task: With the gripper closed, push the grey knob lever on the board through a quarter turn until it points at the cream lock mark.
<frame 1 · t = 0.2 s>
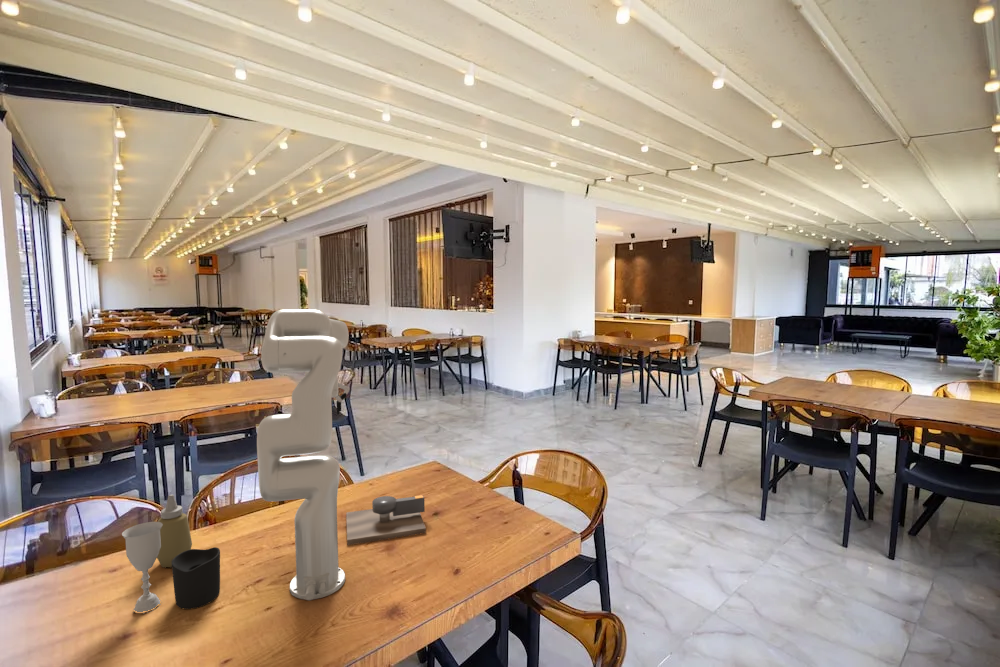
hand: (322, 414, 157), 31 cm above the table, tool pointing down, fingers open, 9 cm apart
grey knob lever: (398, 506, 148), point 5 cm above the table, hinge at 0.0°
chalice: (147, 607, 108), on the table
squeeze bottle: (174, 563, 126), on the table
pen holder: (198, 598, 112), on the table
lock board: (384, 524, 147), on the table
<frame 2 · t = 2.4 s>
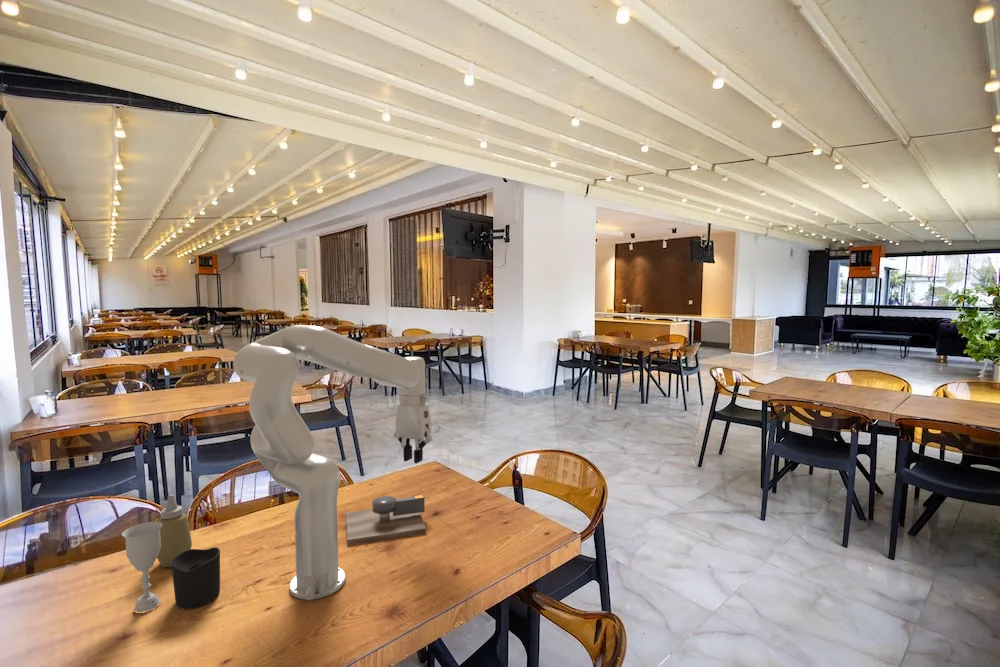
hand: (413, 460, 142), 21 cm above the table, tool pointing down, fingers open, 3 cm apart
nothing on the table moved.
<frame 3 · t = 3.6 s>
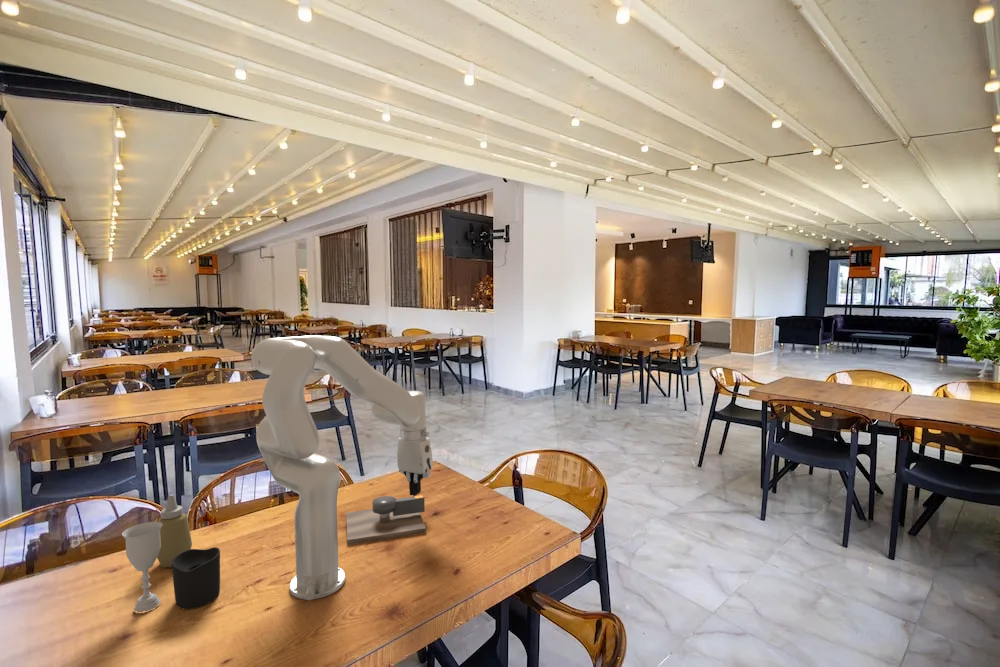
hand: (415, 493, 144), 11 cm above the table, tool pointing down, fingers closed
nothing on the table moved.
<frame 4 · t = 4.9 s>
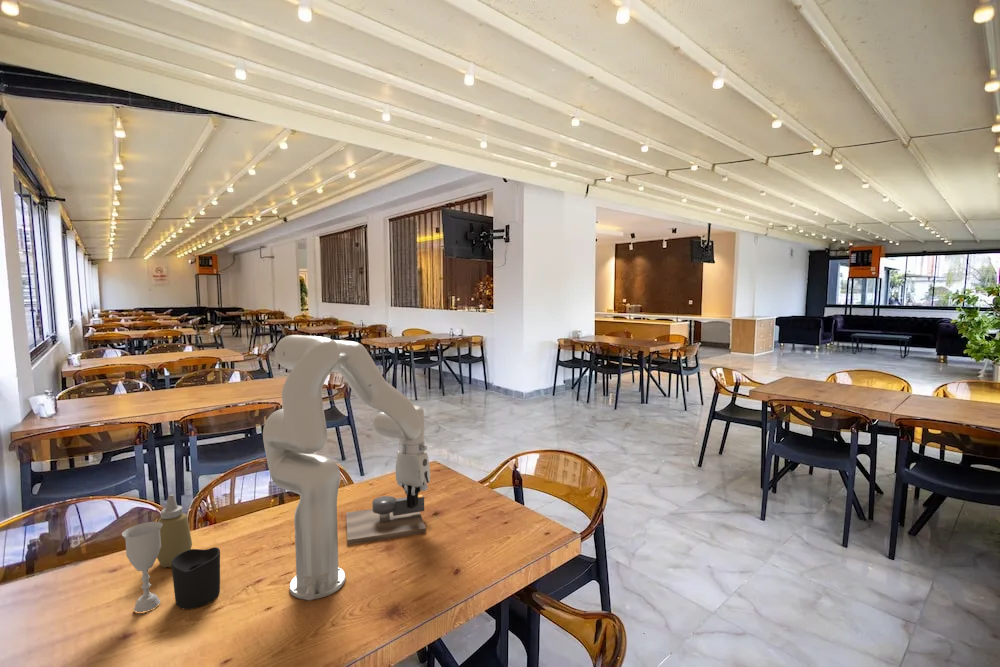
hand: (412, 506, 147), 6 cm above the table, tool pointing down, fingers closed
grey knob lever: (398, 506, 148), point 5 cm above the table, hinge at 2.9°, touching gripper
everything else where it was.
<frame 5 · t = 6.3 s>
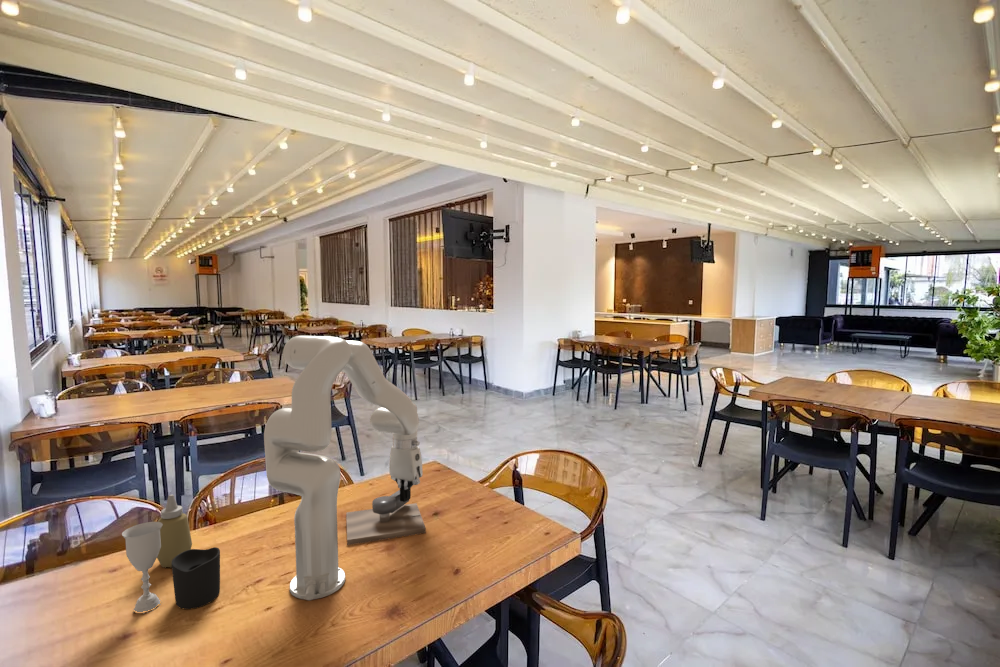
hand: (405, 500, 152), 5 cm above the table, tool pointing down, fingers closed
grey knob lever: (392, 502, 151), point 5 cm above the table, hinge at 49.2°, touching gripper
everything else where it was.
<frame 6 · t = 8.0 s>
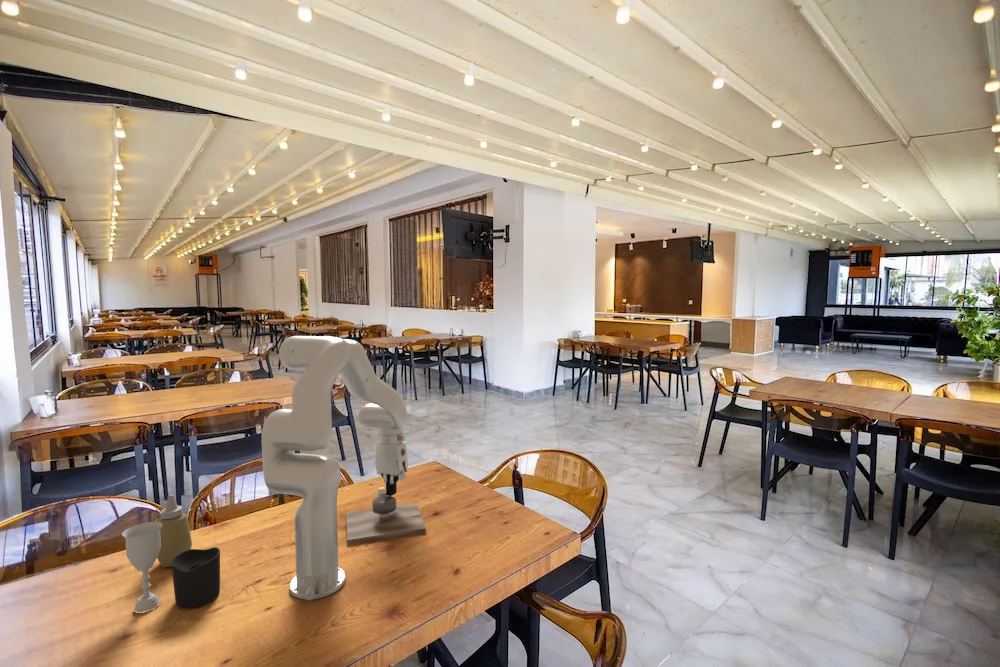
hand: (391, 494, 155), 6 cm above the table, tool pointing down, fingers closed
grey knob lever: (383, 502, 151), point 5 cm above the table, hinge at 90.2°
everything else where it was.
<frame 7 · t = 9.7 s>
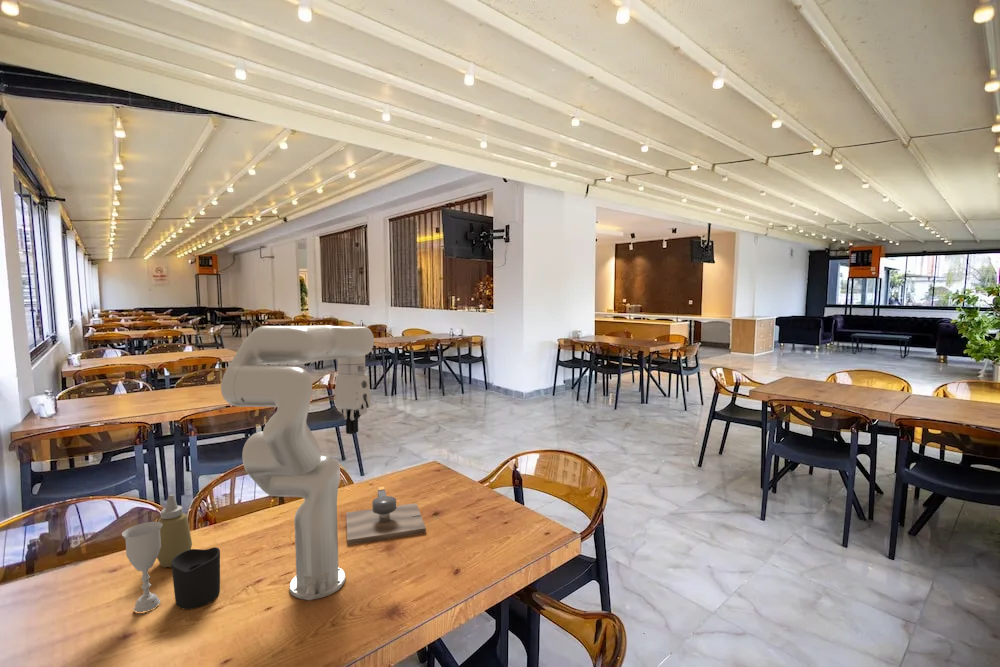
hand: (352, 432, 140), 30 cm above the table, tool pointing down, fingers closed
nothing on the table moved.
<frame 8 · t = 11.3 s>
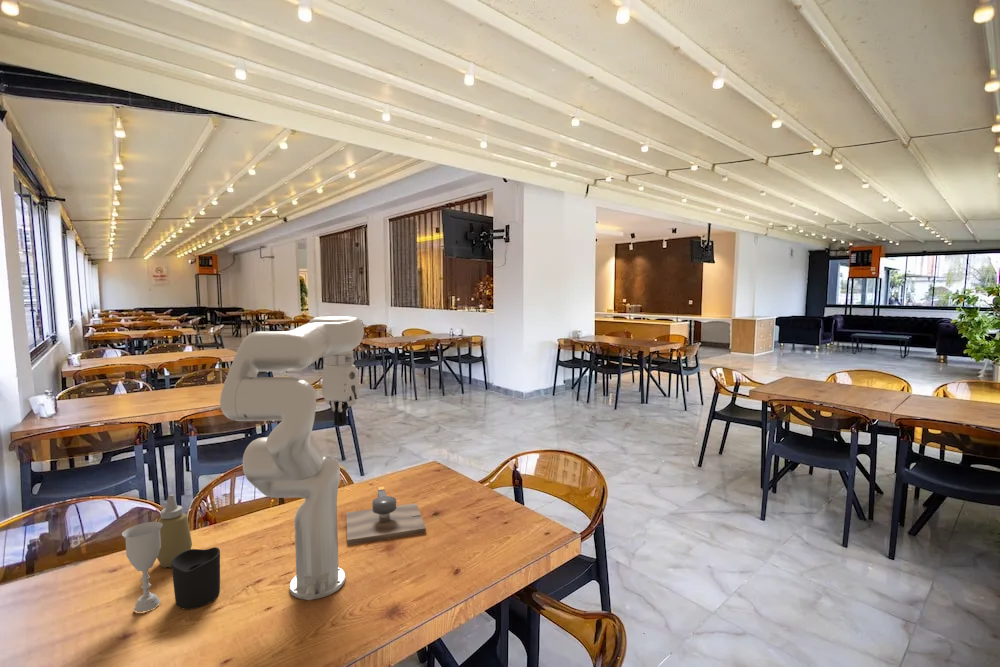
hand: (340, 424, 137), 33 cm above the table, tool pointing down, fingers closed
nothing on the table moved.
at the end: grey knob lever at +90° (first picture: +0°) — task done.
